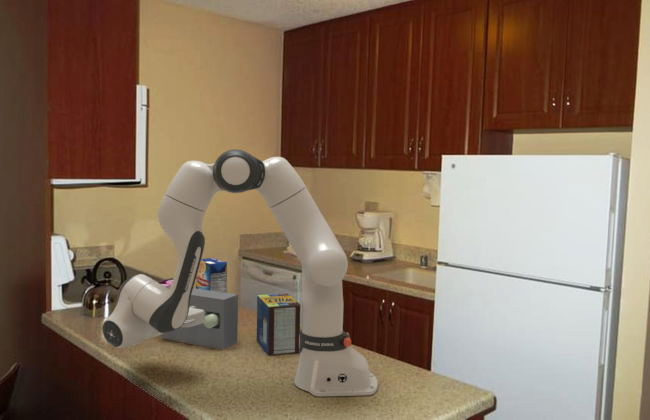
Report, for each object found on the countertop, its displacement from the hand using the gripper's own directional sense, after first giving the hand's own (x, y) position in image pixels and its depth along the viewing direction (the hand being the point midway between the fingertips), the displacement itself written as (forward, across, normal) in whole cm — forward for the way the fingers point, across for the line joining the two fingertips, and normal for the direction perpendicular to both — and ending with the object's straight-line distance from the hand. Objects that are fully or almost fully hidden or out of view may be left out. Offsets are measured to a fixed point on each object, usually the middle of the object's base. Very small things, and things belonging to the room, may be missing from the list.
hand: (187, 307), depth 165 cm
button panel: (+17, +8, +16) cm, 25 cm away
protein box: (+24, -17, +16) cm, 34 cm away
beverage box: (+40, +19, +16) cm, 47 cm away
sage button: (+13, 0, +9) cm, 15 cm away
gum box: (+29, +34, +16) cm, 47 cm away
